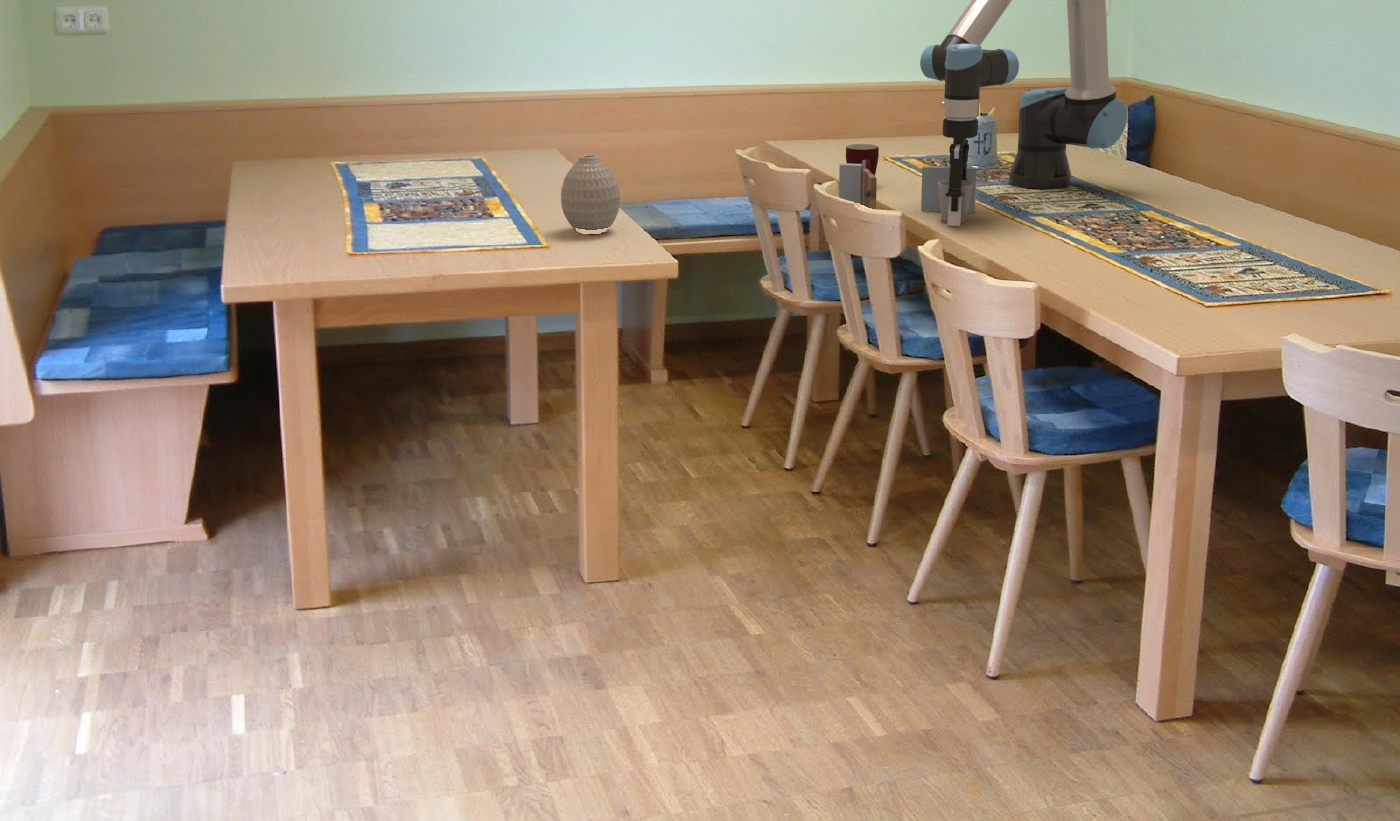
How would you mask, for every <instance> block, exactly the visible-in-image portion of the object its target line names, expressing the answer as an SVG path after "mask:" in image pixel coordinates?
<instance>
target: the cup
mask: <svg viewBox="0 0 1400 821" xmlns="http://www.w3.org/2000/svg"><path fill="white" fill-rule="evenodd" d="M972 188H973V183H972V182H971V181H967V180H962V187H961V196H962V201H961V222H960V224H962V223H966V222H967V221H968V216H969V213H968V212H969V207H970V201H971V194H972ZM938 190H939V204H940V212H939V213H940V220H941V222H943V223H946V224H948V204H949V196H946V193H948V191H949V180H943V181H940V182H938ZM952 190H957V189H952Z"/></svg>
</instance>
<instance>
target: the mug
mask: <svg viewBox="0 0 1400 821" xmlns="http://www.w3.org/2000/svg"><path fill="white" fill-rule="evenodd" d="M879 147H880V146H878V145H877V144H871V143H870V144H869V143H856V144H849V145H846V146H845V161H846V162H845V164H862V160H866V168H867V169H868V170H869V171H870V172H871V173H872V174H873V175H874V176H875V177H876V173H877V167H878V162H879V158H880V157H879V156H880V155H879V154H880V153H879V152H880V150H879V149H880V148H879Z"/></svg>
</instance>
